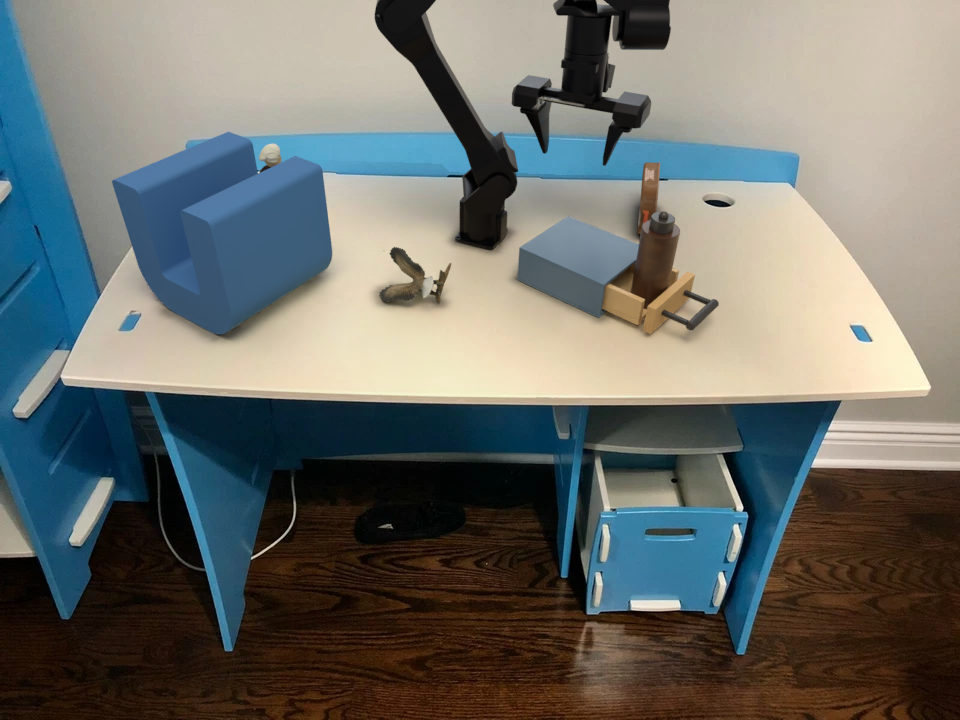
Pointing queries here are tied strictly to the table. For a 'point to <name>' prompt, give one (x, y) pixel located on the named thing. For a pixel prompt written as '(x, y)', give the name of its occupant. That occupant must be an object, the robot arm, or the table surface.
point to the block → (225, 229)
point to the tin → (648, 193)
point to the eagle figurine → (418, 283)
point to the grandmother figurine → (270, 156)
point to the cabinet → (575, 263)
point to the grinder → (655, 257)
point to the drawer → (661, 308)
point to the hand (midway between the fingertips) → (574, 158)
